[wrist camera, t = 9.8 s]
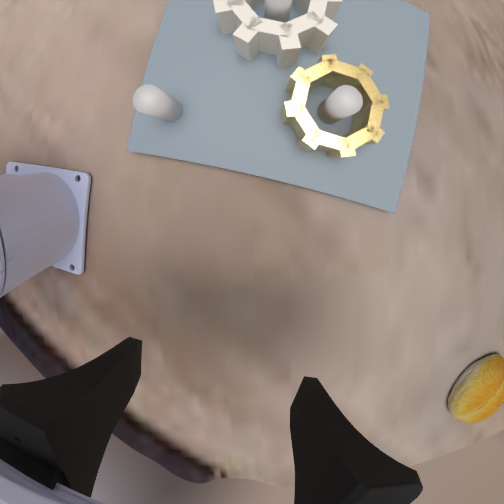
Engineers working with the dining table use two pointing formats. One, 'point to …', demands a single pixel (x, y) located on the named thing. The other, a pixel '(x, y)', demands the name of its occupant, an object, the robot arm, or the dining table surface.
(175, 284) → the dining table surface
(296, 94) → the brass gear
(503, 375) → the bread roll
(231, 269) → the dining table surface
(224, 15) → the gear
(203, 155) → the gear board
